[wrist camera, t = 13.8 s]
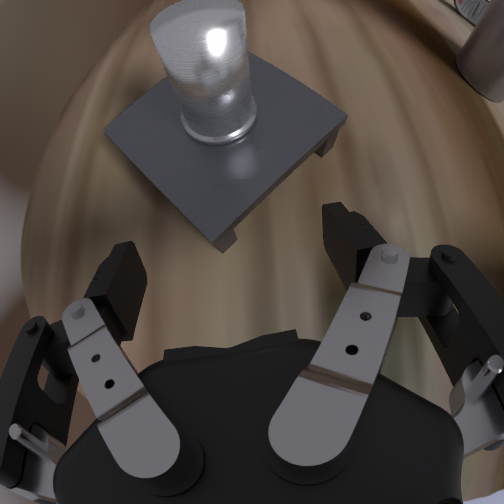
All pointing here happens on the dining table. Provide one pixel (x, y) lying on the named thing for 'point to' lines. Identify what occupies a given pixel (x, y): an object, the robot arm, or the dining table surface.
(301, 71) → the dining table surface
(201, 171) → the stand
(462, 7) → the tin
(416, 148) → the dining table surface
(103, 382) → the robot arm
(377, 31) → the dining table surface
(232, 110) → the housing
